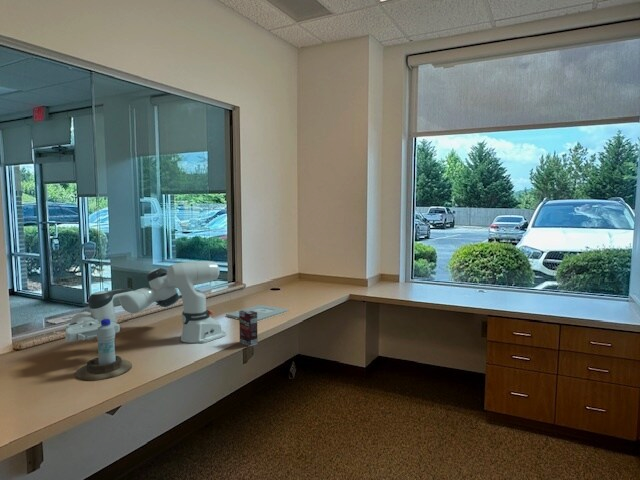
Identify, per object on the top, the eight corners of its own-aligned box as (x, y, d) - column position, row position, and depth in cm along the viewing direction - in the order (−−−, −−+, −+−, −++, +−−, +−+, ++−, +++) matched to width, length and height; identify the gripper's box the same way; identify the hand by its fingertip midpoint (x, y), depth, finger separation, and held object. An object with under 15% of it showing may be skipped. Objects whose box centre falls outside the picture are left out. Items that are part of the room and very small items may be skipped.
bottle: (119, 364, 171) (117, 316, 170) (111, 370, 165) (109, 321, 163) (103, 364, 171) (101, 316, 170) (94, 370, 165) (92, 321, 163)
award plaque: (225, 317, 251) (225, 313, 251) (260, 307, 276) (260, 304, 276) (255, 323, 237) (255, 320, 237) (288, 313, 262) (288, 309, 261)
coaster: (122, 357, 182) (121, 349, 181) (139, 370, 167) (138, 361, 167) (70, 370, 168) (69, 360, 168) (83, 385, 154) (83, 374, 153)
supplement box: (239, 342, 202) (238, 310, 201) (247, 340, 206) (246, 309, 204) (250, 346, 196) (249, 313, 195) (258, 344, 200) (257, 311, 198)
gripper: (114, 330, 187) (125, 337, 177) (62, 340, 173) (70, 348, 163) (113, 317, 187) (124, 323, 177) (61, 325, 173) (70, 333, 163)
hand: (98, 335), depth 170 cm, fingers open, 8 cm apart
